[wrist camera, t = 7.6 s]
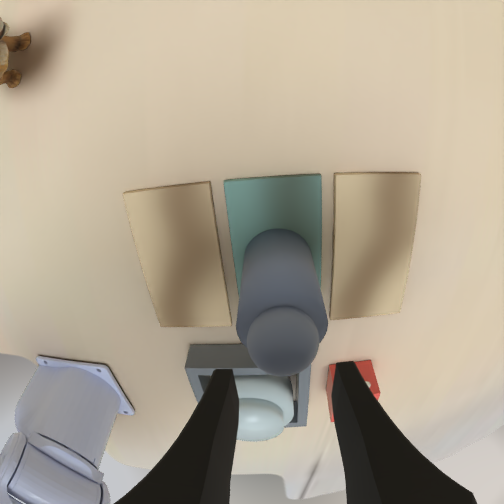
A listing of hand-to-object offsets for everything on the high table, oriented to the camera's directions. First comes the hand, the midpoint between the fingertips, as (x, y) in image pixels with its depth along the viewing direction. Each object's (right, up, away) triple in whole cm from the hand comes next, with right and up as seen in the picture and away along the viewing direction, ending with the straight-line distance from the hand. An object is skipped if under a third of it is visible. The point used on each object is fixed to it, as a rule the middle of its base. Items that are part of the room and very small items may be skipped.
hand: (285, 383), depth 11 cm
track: (0, +5, +8) cm, 9 cm away
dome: (-1, -6, +14) cm, 15 cm away
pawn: (0, +4, +8) cm, 9 cm away
